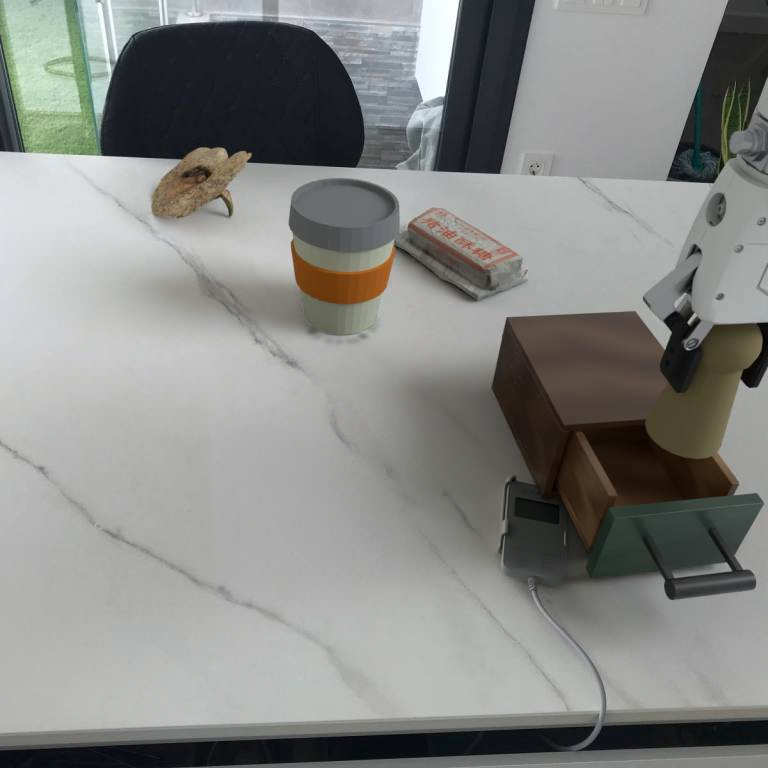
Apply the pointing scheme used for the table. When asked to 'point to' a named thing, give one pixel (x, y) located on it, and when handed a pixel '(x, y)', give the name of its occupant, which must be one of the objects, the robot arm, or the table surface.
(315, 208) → the reusable coffee cup
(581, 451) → the drawer
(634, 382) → the cabinet
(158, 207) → the dried bracket fungus
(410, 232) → the packaged product
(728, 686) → the table surface
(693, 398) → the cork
